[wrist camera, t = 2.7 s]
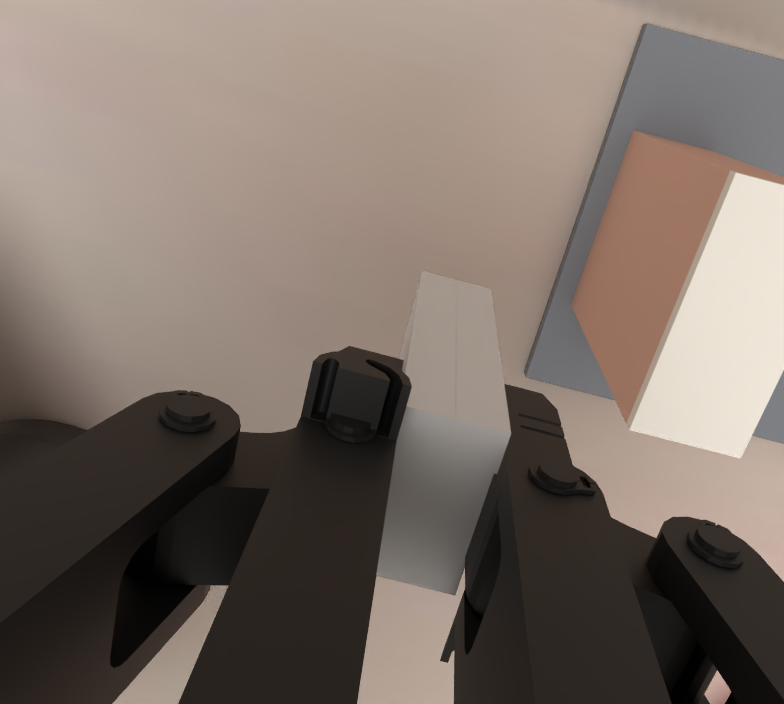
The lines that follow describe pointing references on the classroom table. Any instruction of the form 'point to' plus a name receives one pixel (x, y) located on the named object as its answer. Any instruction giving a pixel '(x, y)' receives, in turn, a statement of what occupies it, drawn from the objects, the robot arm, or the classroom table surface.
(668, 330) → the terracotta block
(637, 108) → the slate mat
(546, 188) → the classroom table surface
